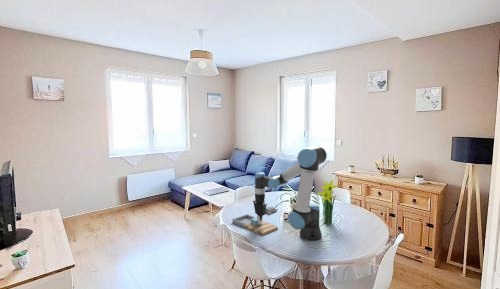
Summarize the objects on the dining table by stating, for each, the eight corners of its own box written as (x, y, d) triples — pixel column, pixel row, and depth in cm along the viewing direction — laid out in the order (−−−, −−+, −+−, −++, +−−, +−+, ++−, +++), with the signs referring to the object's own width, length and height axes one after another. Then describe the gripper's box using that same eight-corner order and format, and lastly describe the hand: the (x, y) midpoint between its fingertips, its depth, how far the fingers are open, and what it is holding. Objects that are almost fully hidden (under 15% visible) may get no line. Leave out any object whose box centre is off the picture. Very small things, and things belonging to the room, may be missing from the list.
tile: (261, 224, 204) (261, 219, 204) (256, 226, 200) (256, 221, 200) (256, 222, 208) (256, 217, 208) (250, 224, 204) (250, 218, 204)
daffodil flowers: (331, 230, 197) (332, 183, 194) (313, 225, 207) (314, 180, 204) (341, 223, 210) (342, 179, 207) (324, 219, 219) (324, 177, 217)
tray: (258, 221, 214) (258, 218, 214) (243, 227, 203) (243, 223, 203) (247, 217, 223) (247, 214, 223) (232, 222, 212) (232, 219, 212)
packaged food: (278, 212, 235) (278, 207, 234) (269, 216, 227) (269, 210, 226) (270, 210, 241) (270, 204, 241) (261, 213, 233) (261, 208, 232)
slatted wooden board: (277, 229, 199) (277, 226, 199) (263, 235, 188) (263, 232, 188) (258, 222, 214) (258, 219, 213) (244, 227, 202) (244, 224, 202)
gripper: (269, 194, 197) (269, 224, 199) (257, 190, 206) (257, 220, 209) (262, 195, 192) (262, 227, 194) (250, 192, 201) (250, 222, 203)
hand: (259, 223), depth 201 cm, fingers closed
